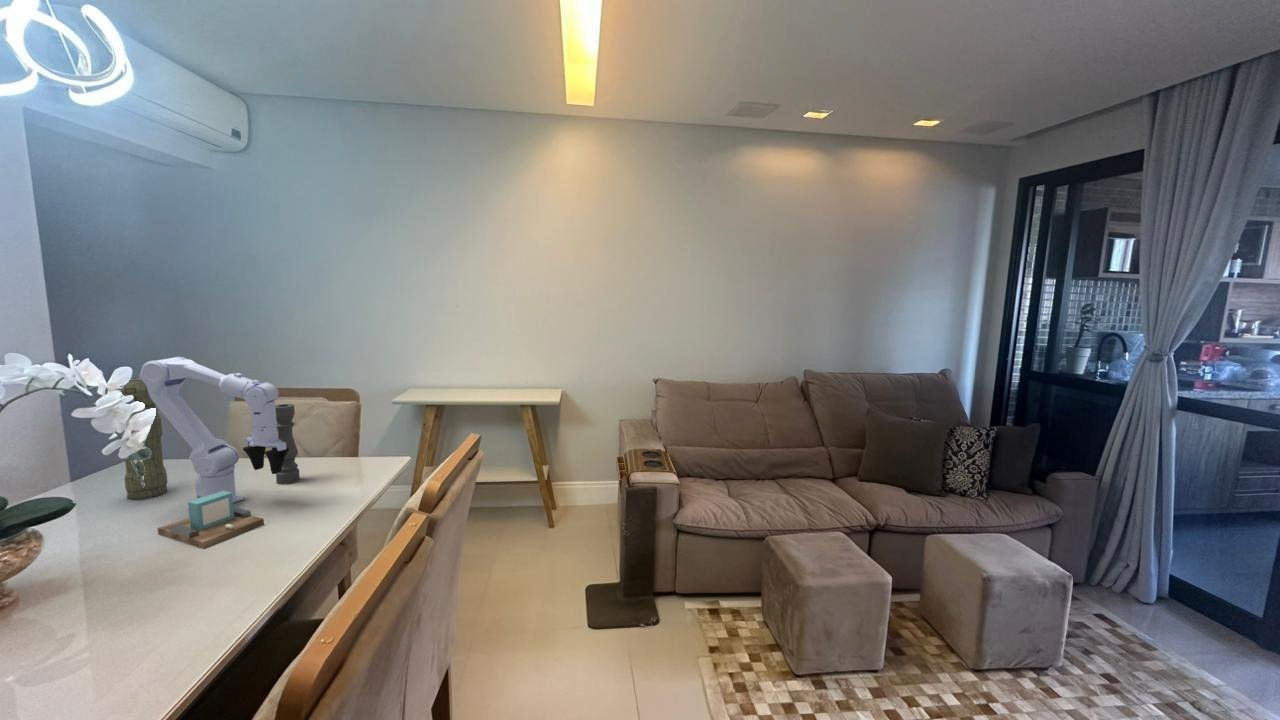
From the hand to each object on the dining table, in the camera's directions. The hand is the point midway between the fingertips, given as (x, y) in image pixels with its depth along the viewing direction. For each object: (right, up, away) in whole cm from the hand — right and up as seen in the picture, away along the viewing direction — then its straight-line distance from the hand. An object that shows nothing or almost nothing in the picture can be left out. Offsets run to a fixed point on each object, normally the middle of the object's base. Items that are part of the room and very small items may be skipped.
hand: (267, 470), depth 147 cm
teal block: (-2, -10, -16) cm, 19 cm away
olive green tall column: (-39, -8, +4) cm, 40 cm away
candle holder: (-6, -7, +17) cm, 20 cm away
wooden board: (-3, -12, -16) cm, 20 cm away
